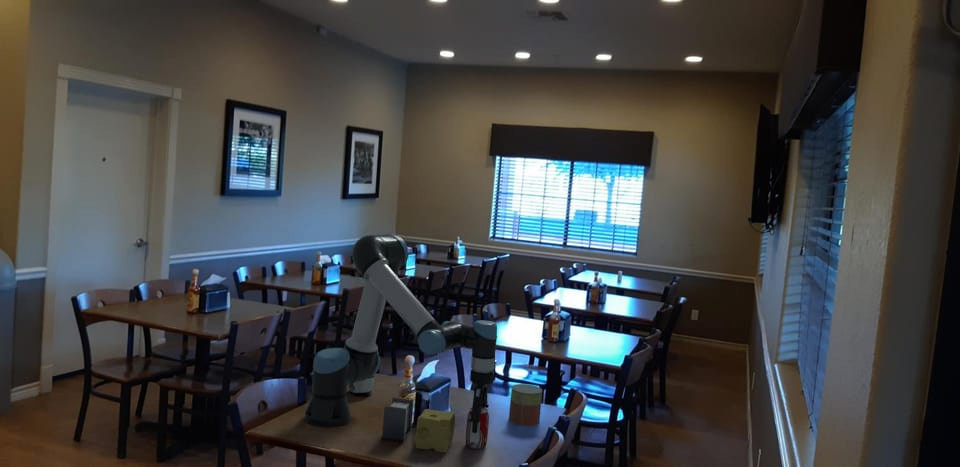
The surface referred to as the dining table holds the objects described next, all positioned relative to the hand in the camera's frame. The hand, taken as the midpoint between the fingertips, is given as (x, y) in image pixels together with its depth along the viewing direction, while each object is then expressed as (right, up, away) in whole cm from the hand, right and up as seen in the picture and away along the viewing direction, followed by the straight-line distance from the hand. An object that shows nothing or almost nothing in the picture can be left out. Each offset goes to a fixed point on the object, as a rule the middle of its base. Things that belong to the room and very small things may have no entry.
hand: (477, 434), depth 221 cm
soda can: (-1, -4, 0) cm, 4 cm away
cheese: (-14, -3, -2) cm, 14 cm away
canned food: (+17, -4, +28) cm, 33 cm away
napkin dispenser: (-26, -1, +3) cm, 26 cm away
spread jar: (-47, +3, +43) cm, 64 cm away
